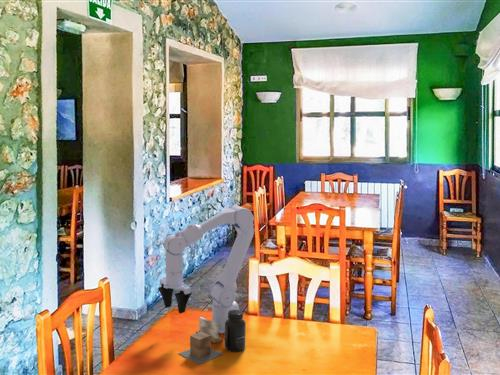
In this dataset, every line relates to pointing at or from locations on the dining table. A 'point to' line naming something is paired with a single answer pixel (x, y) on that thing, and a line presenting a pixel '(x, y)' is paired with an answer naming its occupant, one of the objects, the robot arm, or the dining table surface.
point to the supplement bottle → (235, 331)
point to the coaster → (203, 359)
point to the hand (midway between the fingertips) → (174, 309)
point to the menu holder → (209, 329)
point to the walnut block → (200, 344)
